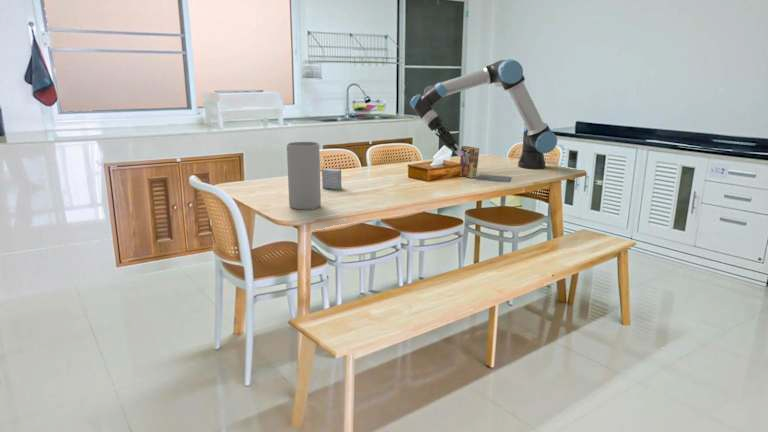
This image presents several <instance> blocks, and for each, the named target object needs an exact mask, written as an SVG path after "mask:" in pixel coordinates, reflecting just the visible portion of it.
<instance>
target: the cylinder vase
mask: <svg viewBox="0 0 768 432" xmlns="http://www.w3.org/2000/svg"><path fill="white" fill-rule="evenodd" d="M286 159H287V161H286V162H287V181H288V182H287V183H288V204H289V207H290V208H292V209H293V208H295V209H294V210H299V209H308V210H313V209H312V208H315V209H317V208H319V207H321V205H322V204H321V203H322V200H321V196H322V195H321V165H320V164H321V163H320V160H321V157H320V143H319V142H313V141H295V142H294V141H293V142H288V143H286Z"/></svg>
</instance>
